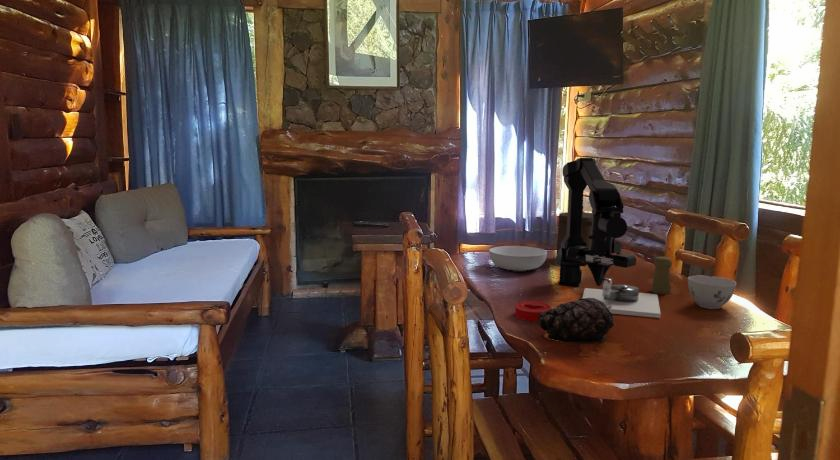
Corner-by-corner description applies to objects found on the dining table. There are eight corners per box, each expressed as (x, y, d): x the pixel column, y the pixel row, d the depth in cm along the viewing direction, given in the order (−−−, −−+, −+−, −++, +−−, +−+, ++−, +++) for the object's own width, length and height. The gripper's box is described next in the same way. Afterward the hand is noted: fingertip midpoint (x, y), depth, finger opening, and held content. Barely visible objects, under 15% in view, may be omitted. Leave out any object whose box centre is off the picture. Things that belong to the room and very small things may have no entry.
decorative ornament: (519, 322, 158) (519, 311, 158) (511, 311, 168) (512, 300, 167) (555, 322, 159) (556, 310, 158) (546, 311, 168) (546, 300, 168)
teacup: (743, 312, 168) (745, 284, 166) (699, 313, 167) (701, 285, 166) (714, 298, 183) (717, 272, 181) (674, 298, 182) (676, 272, 181)
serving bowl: (554, 267, 223) (555, 249, 222) (533, 278, 206) (533, 258, 205) (503, 260, 234) (503, 243, 233) (478, 270, 217) (479, 251, 216)
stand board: (579, 310, 169) (580, 304, 169) (584, 291, 189) (585, 287, 188) (660, 318, 162) (660, 312, 162) (656, 298, 182) (657, 293, 182)
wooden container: (594, 258, 240) (597, 203, 237) (596, 266, 226) (599, 207, 222) (556, 256, 243) (558, 201, 240) (556, 263, 229) (558, 206, 226)
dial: (619, 292, 182) (620, 270, 181) (643, 298, 176) (645, 275, 175) (591, 300, 173) (592, 277, 172) (616, 307, 167) (617, 282, 166)
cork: (672, 294, 186) (675, 259, 185) (652, 293, 188) (654, 258, 186) (669, 289, 192) (671, 255, 190) (649, 288, 193) (651, 254, 192)
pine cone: (532, 332, 150) (533, 293, 148) (601, 331, 152) (603, 292, 150) (544, 347, 140) (546, 305, 138) (619, 345, 141) (621, 304, 140)
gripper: (647, 232, 168) (643, 287, 171) (587, 224, 181) (584, 275, 184) (628, 237, 160) (624, 294, 163) (567, 228, 174) (564, 281, 176)
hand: (598, 285), depth 172 cm, fingers closed
